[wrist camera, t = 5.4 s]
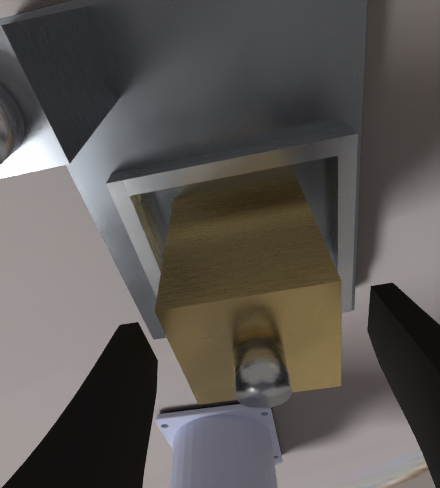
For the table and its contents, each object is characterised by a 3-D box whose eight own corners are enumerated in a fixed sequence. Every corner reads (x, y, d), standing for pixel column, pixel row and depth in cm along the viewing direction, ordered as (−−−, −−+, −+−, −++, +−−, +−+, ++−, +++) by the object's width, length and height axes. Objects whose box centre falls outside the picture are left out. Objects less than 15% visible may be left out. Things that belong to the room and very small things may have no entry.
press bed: (346, 292, 18) (406, 429, 12) (156, 321, 19) (134, 459, 13) (354, -72, 9) (547, -138, 4) (13, 16, 10) (-198, 57, 5)
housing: (303, 268, 15) (354, 426, 10) (202, 285, 16) (197, 444, 10) (295, 174, 12) (359, 321, 7) (173, 198, 13) (147, 353, 8)
